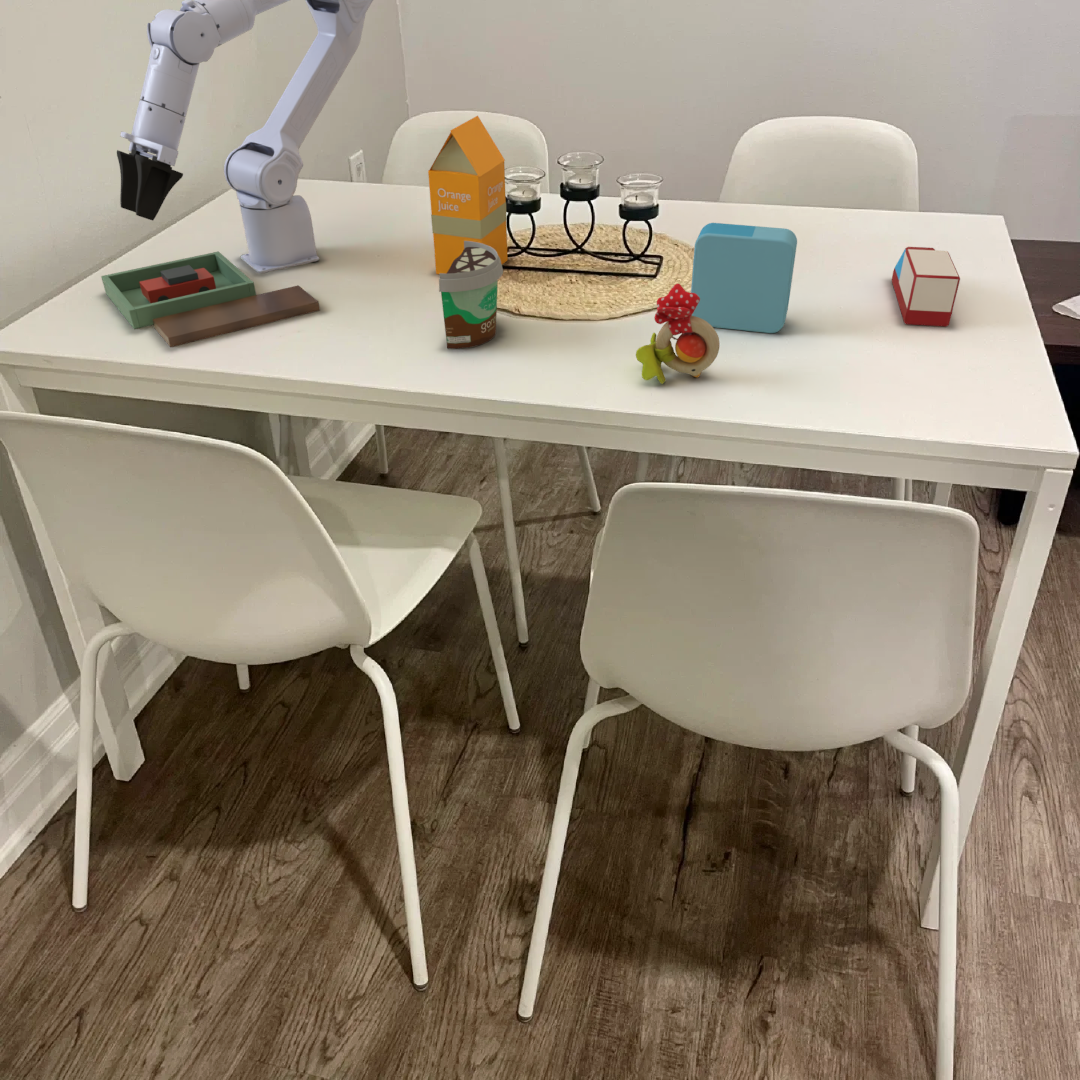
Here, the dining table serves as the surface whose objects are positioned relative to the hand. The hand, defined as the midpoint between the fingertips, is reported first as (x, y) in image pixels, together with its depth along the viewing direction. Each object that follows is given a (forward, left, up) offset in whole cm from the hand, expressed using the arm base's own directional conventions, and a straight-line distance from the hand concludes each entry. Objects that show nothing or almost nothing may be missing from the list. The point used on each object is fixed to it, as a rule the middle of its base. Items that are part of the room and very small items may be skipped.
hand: (136, 214), depth 131 cm
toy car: (-3, +1, -12) cm, 12 cm away
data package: (-60, +51, -12) cm, 80 cm away
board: (-7, +13, -12) cm, 19 cm away
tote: (-3, +1, -12) cm, 12 cm away
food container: (-31, +35, -12) cm, 48 cm away
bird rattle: (-44, +58, -12) cm, 74 cm away
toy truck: (-84, +60, -12) cm, 104 cm away
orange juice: (-42, +14, -12) cm, 46 cm away
